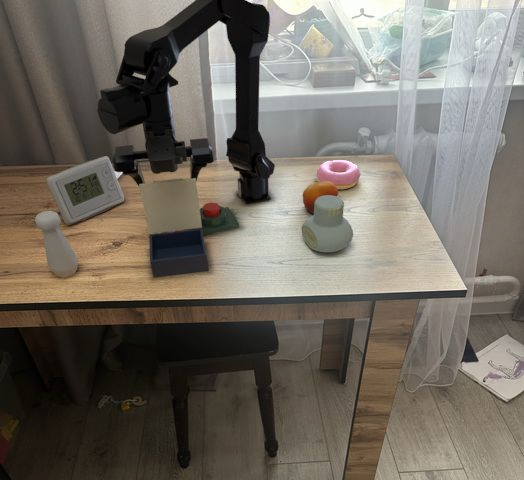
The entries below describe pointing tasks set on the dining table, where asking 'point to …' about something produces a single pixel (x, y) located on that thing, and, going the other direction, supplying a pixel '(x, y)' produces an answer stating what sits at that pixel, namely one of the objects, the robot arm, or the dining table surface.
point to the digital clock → (85, 190)
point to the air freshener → (327, 226)
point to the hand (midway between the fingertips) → (170, 195)
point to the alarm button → (211, 209)
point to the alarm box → (218, 221)
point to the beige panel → (171, 205)
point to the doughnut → (339, 173)
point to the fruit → (318, 193)
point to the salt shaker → (56, 245)
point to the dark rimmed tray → (178, 253)
